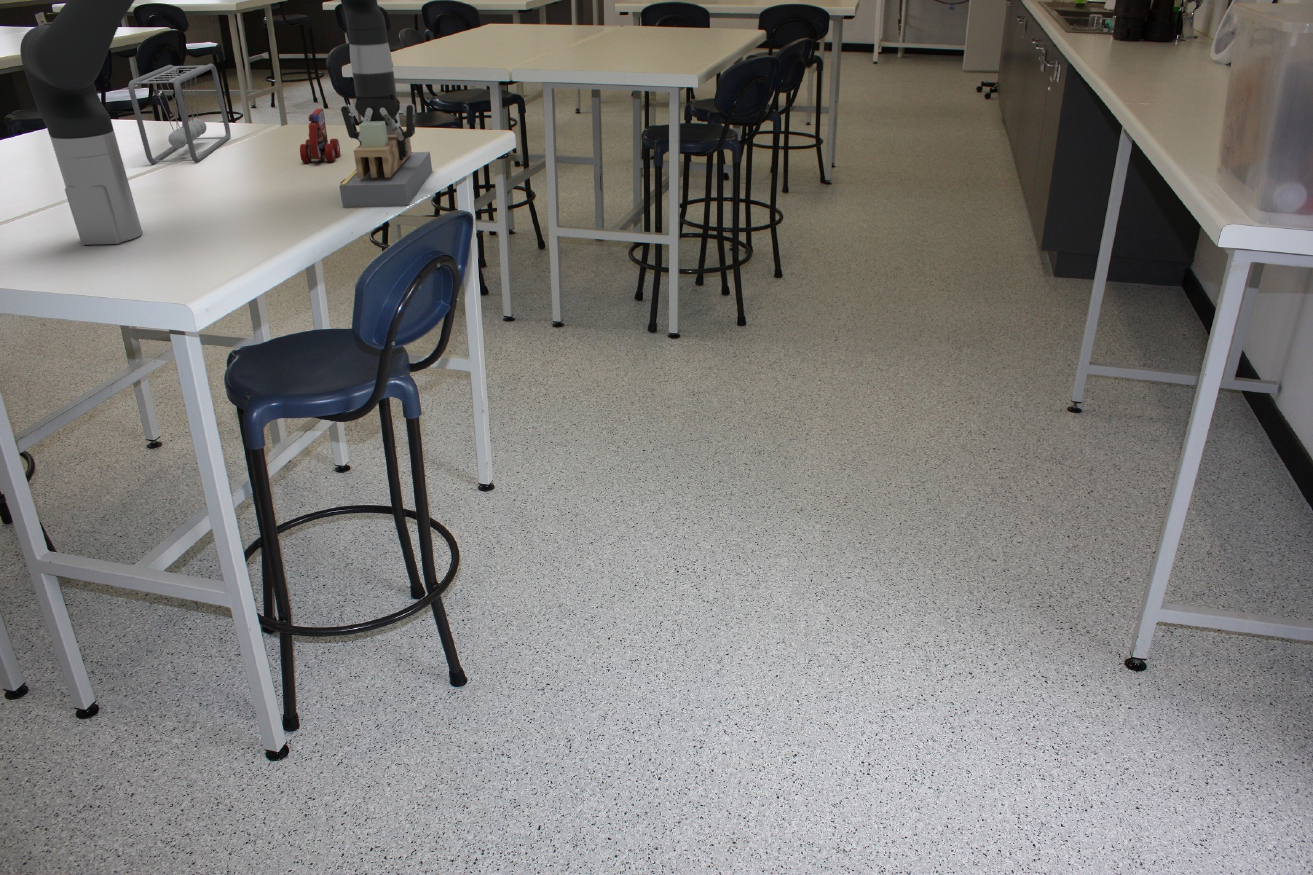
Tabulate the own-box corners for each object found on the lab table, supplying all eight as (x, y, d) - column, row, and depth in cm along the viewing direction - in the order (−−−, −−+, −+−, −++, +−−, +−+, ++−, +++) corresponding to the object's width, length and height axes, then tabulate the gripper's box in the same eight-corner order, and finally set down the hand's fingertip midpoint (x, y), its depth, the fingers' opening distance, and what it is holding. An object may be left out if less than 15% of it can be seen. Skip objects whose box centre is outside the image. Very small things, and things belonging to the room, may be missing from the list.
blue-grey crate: (397, 134, 188) (394, 113, 186) (376, 134, 188) (373, 113, 186) (400, 130, 192) (398, 110, 190) (381, 131, 192) (378, 110, 190)
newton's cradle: (197, 164, 211) (176, 80, 202) (148, 166, 210) (125, 82, 201) (232, 138, 237) (215, 62, 228) (188, 139, 236) (170, 63, 227)
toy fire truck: (299, 167, 207) (290, 117, 202) (312, 154, 218) (303, 107, 213) (332, 165, 208) (323, 116, 203) (343, 153, 219) (335, 106, 214)
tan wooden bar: (390, 177, 177) (386, 150, 175) (357, 178, 177) (353, 150, 175) (411, 152, 197) (408, 128, 194) (382, 153, 196) (379, 128, 194)
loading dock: (407, 205, 177) (404, 183, 175) (337, 207, 177) (333, 184, 175) (432, 171, 202) (429, 151, 199) (370, 172, 201) (367, 152, 199)
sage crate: (383, 147, 177) (380, 125, 175) (362, 147, 177) (358, 125, 175) (388, 142, 181) (385, 121, 179) (367, 143, 181) (363, 121, 179)
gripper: (328, 72, 175) (344, 165, 183) (407, 71, 175) (419, 163, 183) (339, 67, 181) (353, 156, 189) (414, 66, 182) (425, 155, 190)
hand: (385, 159), depth 186 cm, fingers closed on tan wooden bar, 6 cm apart
